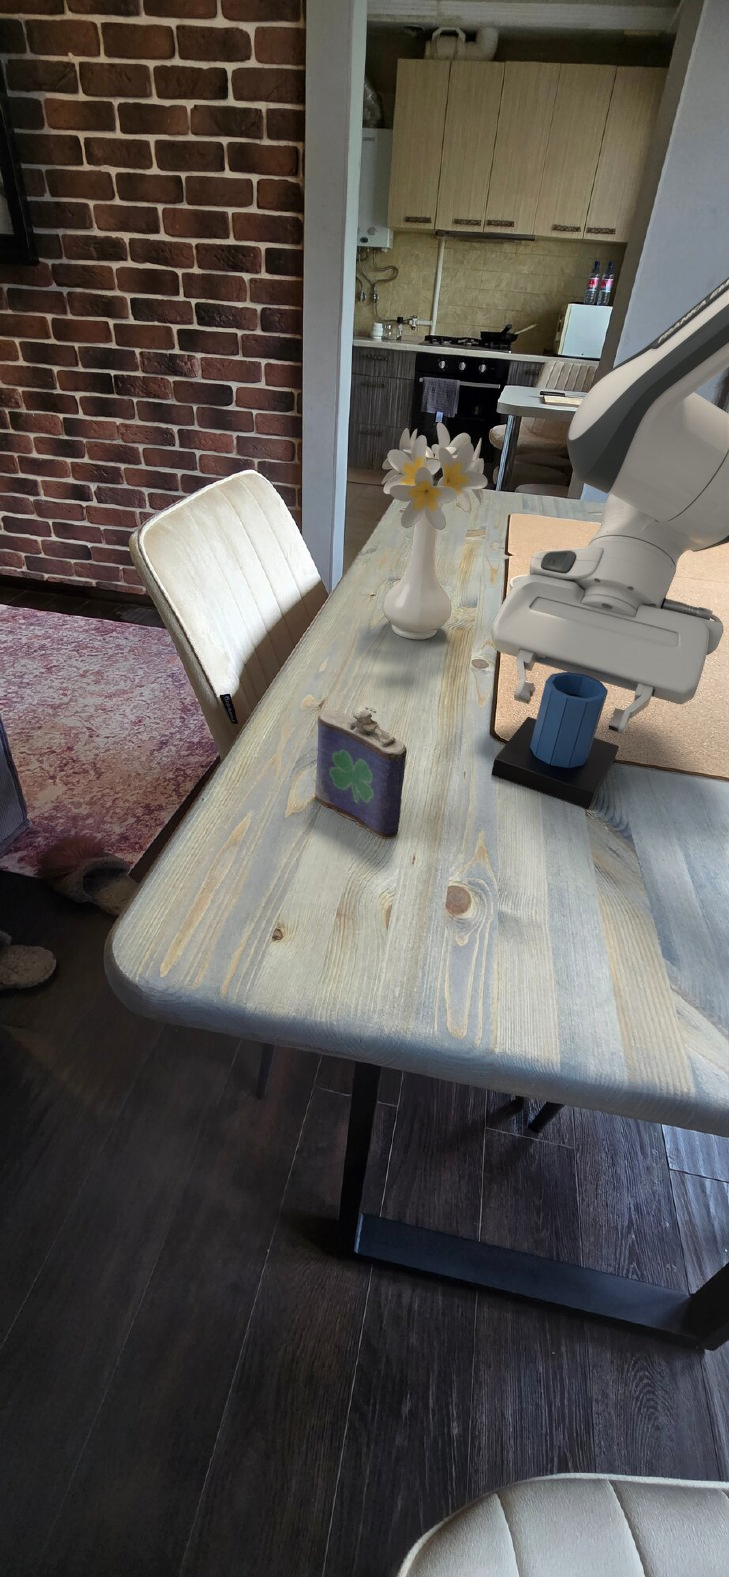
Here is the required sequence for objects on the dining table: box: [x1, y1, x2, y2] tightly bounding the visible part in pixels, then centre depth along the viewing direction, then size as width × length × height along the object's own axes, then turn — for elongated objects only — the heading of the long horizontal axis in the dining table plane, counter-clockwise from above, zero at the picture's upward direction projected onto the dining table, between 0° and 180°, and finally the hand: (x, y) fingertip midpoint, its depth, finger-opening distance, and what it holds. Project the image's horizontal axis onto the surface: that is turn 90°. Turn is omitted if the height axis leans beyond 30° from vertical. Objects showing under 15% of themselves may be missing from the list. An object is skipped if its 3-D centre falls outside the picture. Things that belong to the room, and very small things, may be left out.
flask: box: [314, 706, 408, 840], centre depth 64 cm, size 9×3×11 cm, turn 50°
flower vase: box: [381, 422, 488, 641], centre depth 93 cm, size 13×18×25 cm
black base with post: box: [491, 693, 620, 810], centre depth 73 cm, size 10×10×8 cm
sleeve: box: [530, 671, 609, 768], centre depth 72 cm, size 6×6×8 cm
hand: (567, 715), depth 71 cm, fingers open, 8 cm apart
